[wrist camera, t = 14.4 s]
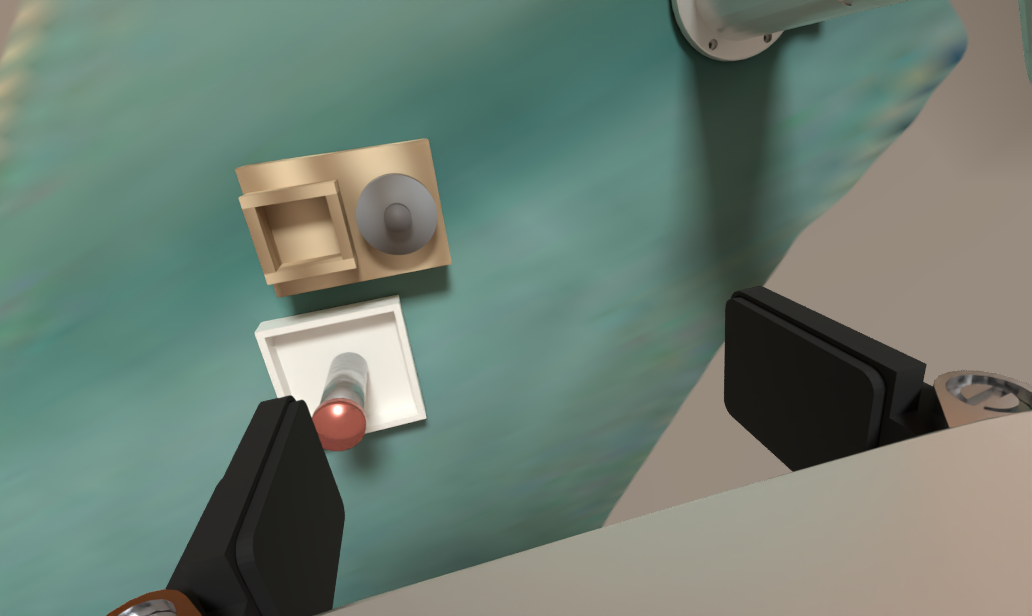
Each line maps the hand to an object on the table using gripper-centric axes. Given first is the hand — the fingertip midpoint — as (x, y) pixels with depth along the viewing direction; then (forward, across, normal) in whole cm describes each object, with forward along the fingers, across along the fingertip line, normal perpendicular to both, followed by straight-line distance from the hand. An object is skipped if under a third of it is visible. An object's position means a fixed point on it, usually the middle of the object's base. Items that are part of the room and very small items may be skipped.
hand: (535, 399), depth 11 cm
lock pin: (+35, +11, +15) cm, 39 cm away
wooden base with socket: (+36, +7, +1) cm, 36 cm away
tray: (+35, +11, +15) cm, 40 cm away
